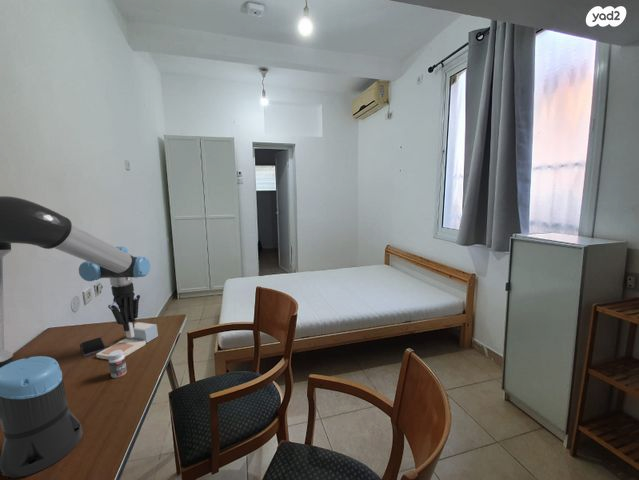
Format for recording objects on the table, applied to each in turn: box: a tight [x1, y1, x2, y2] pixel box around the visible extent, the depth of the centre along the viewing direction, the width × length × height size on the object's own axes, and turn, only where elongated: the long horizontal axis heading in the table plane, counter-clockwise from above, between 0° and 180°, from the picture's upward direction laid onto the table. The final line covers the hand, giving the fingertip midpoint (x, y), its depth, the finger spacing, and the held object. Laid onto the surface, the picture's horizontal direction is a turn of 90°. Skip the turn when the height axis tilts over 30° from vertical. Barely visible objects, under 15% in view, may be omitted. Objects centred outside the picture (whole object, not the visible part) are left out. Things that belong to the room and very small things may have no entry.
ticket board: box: [95, 337, 147, 361], centre depth 120 cm, size 13×11×2 cm
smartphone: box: [80, 337, 106, 357], centre depth 124 cm, size 7×1×15 cm
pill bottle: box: [108, 350, 128, 379], centre depth 104 cm, size 5×5×8 cm
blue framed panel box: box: [126, 321, 159, 344], centre depth 129 cm, size 6×11×6 cm, turn 73°
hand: (130, 336), depth 124 cm, fingers closed
